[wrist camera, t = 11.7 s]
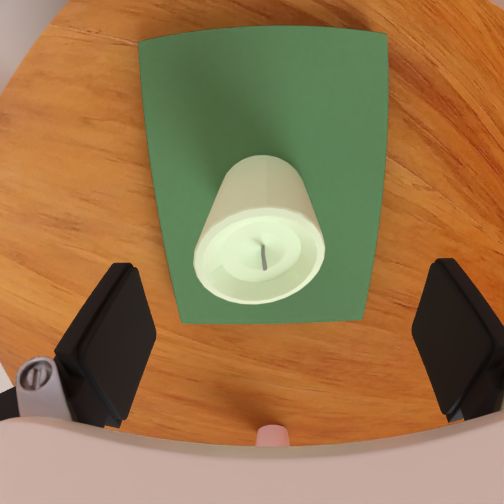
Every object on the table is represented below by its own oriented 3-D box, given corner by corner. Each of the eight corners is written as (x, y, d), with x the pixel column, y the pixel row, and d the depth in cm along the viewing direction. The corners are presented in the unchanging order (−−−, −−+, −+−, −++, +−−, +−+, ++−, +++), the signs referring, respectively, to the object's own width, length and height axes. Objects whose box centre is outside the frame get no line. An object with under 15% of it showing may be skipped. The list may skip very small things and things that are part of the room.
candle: (322, 200, 18) (356, 279, 11) (258, 248, 20) (254, 342, 13) (267, 136, 17) (269, 177, 10) (202, 192, 18) (164, 266, 11)
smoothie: (241, 437, 37) (235, 532, 25) (255, 416, 34) (250, 525, 21) (287, 443, 37) (288, 534, 25) (305, 422, 34) (311, 526, 22)
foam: (149, 44, 16) (137, 41, 14) (376, 37, 15) (387, 33, 13) (186, 307, 26) (181, 323, 24) (357, 304, 25) (362, 320, 23)
